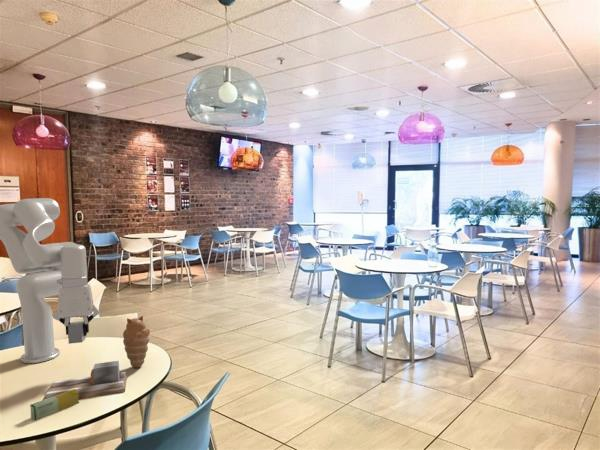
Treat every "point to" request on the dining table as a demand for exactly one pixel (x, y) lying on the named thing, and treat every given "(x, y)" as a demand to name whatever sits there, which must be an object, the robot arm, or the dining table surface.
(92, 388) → the rail mount
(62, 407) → the medication box
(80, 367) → the dining table surface
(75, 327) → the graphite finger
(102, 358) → the dining table surface
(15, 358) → the dining table surface
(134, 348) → the cat ice cream
